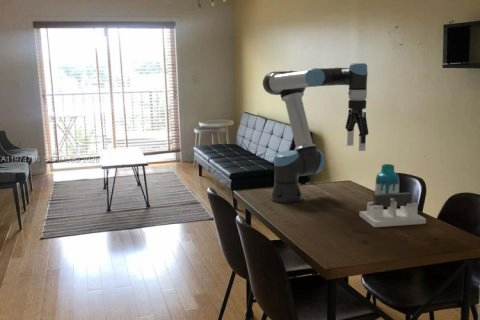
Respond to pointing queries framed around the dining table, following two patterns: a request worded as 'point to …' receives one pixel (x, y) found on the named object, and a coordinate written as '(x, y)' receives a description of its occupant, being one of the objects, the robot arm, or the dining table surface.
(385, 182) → the vase
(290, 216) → the dining table surface
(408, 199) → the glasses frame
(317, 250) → the dining table surface
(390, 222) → the white pegged base plate
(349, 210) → the dining table surface
